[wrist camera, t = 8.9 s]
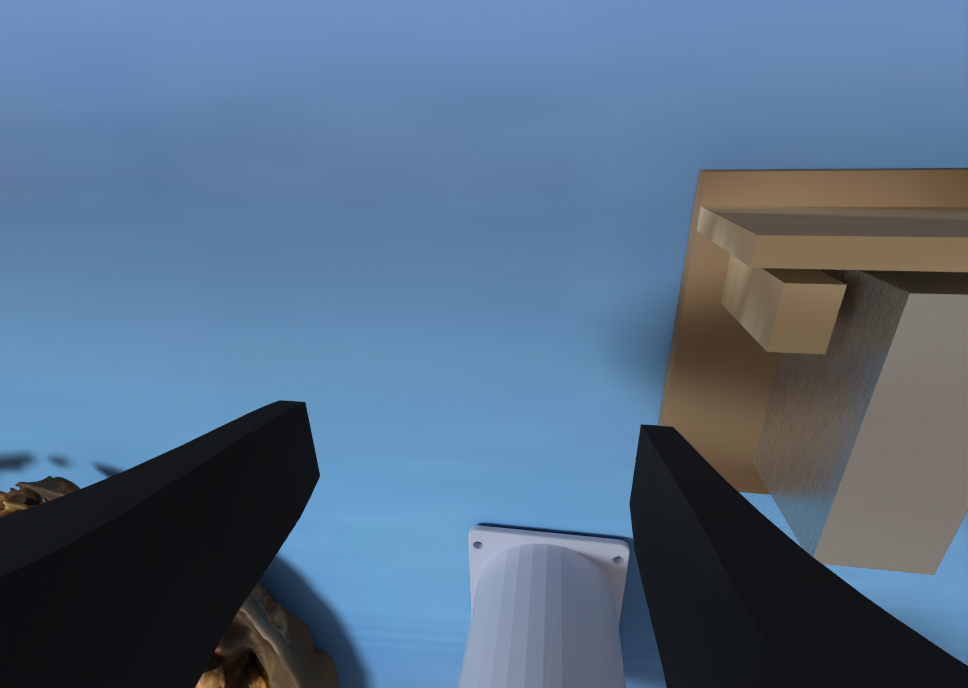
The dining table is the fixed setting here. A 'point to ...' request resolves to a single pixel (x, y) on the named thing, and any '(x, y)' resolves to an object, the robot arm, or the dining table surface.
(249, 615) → the food dish
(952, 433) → the gray rectangular block
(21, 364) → the dining table surface
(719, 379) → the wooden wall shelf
